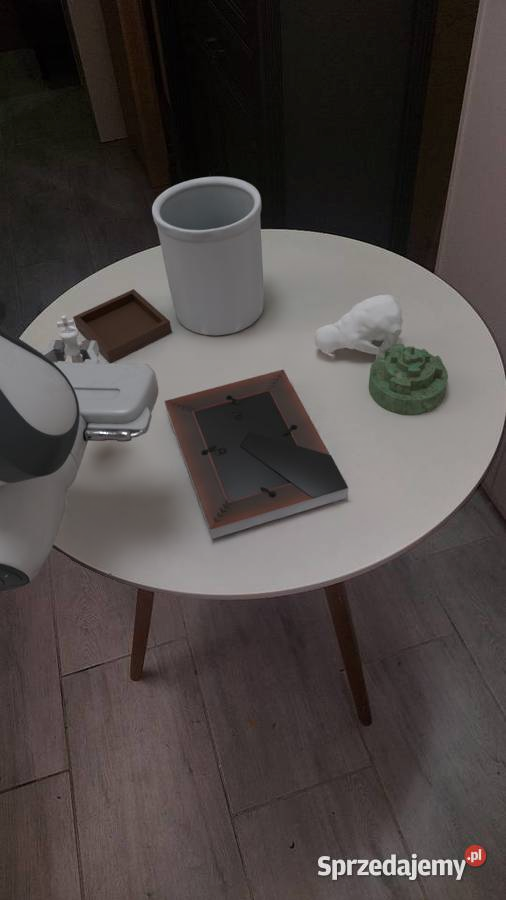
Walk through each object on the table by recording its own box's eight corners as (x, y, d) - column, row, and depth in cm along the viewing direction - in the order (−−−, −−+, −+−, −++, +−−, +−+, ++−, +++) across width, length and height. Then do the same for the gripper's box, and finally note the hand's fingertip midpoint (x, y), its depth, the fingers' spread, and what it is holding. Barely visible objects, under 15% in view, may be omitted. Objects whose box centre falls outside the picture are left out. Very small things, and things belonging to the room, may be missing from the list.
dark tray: (110, 363, 98) (107, 352, 96) (76, 327, 104) (72, 316, 102) (172, 332, 102) (170, 321, 100) (136, 299, 108) (133, 288, 106)
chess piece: (64, 376, 80) (40, 306, 73) (106, 369, 80) (86, 299, 73) (64, 405, 77) (39, 335, 69) (108, 398, 77) (87, 327, 70)
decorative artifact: (420, 355, 96) (355, 374, 94) (427, 314, 90) (359, 334, 88) (459, 401, 89) (390, 423, 87) (469, 360, 84) (396, 383, 82)
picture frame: (347, 499, 80) (283, 381, 93) (348, 486, 78) (283, 368, 92) (212, 541, 77) (167, 413, 91) (209, 528, 75) (164, 399, 89)
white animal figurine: (406, 310, 88) (314, 325, 89) (405, 360, 95) (319, 373, 95) (396, 282, 92) (308, 296, 93) (396, 331, 99) (313, 343, 100)
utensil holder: (151, 308, 106) (130, 204, 93) (224, 268, 112) (213, 164, 99) (212, 352, 98) (198, 244, 85) (286, 306, 104) (284, 199, 91)
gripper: (139, 417, 63) (164, 323, 72) (-73, 412, 65) (-22, 320, 74) (150, 462, 67) (173, 368, 76) (-48, 455, 69) (-3, 364, 78)
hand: (76, 344), depth 75 cm, fingers closed on chess piece
